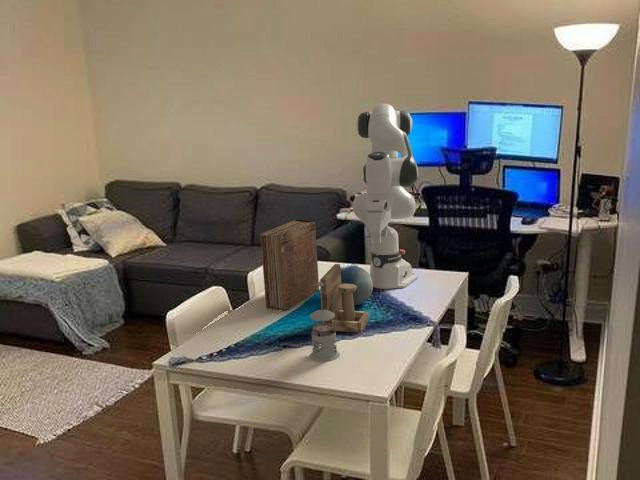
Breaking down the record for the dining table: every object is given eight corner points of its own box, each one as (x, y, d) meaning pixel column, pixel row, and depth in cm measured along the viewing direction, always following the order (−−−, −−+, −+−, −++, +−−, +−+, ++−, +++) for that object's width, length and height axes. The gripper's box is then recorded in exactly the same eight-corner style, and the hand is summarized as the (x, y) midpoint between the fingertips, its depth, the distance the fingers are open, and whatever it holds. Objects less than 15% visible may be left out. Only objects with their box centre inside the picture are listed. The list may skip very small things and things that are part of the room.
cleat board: (370, 317, 241) (368, 265, 236) (358, 336, 225) (356, 281, 220) (337, 315, 245) (334, 264, 240) (323, 334, 229) (320, 279, 224)
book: (285, 311, 252) (279, 236, 244) (265, 308, 257) (259, 234, 249) (319, 290, 273) (315, 220, 265) (300, 288, 278) (296, 219, 270)
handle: (354, 329, 231) (352, 289, 227) (338, 326, 234) (336, 287, 230) (360, 324, 235) (358, 284, 231) (345, 321, 238) (342, 282, 234)
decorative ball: (344, 295, 265) (342, 260, 261) (379, 299, 259) (378, 263, 255) (328, 308, 252) (326, 271, 249) (365, 312, 246) (363, 274, 242)
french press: (317, 364, 206) (312, 289, 199) (303, 351, 216) (297, 278, 210) (345, 357, 210) (341, 283, 203) (330, 344, 220) (325, 273, 213)
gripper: (377, 194, 233) (378, 232, 236) (363, 207, 214) (365, 247, 218) (394, 194, 231) (396, 232, 235) (382, 207, 212) (383, 248, 216)
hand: (381, 240), depth 226 cm, fingers open, 8 cm apart
